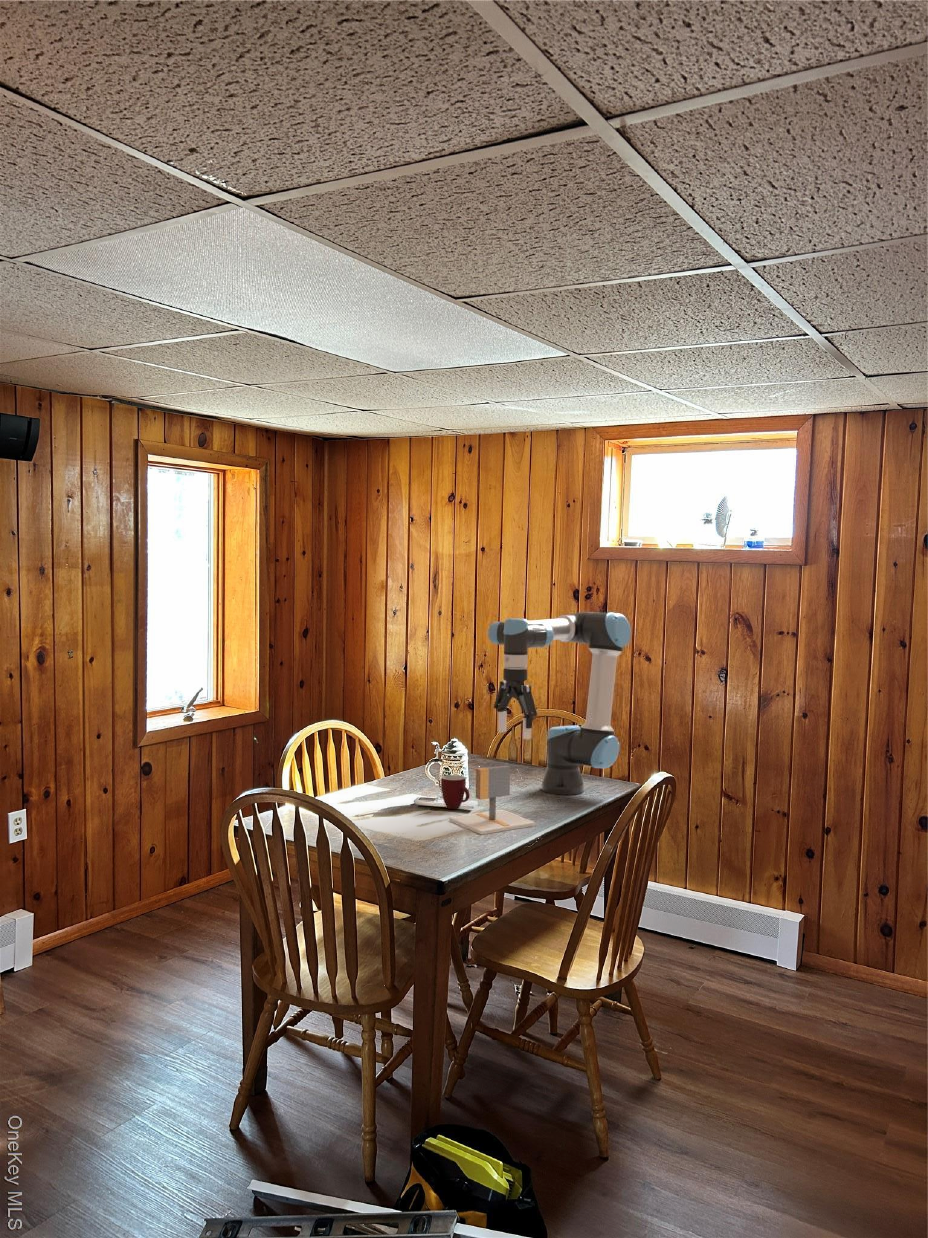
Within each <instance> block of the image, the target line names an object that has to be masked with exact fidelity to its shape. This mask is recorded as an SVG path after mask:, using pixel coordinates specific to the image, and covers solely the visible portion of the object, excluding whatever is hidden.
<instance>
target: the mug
mask: <svg viewBox="0 0 928 1238" xmlns="http://www.w3.org/2000/svg"><path fill="white" fill-rule="evenodd" d="M440 778H441V779H440V781H441V782H440V783H441V784H440V785H441V793H442V798H443V802H444V804H445V807H446V808H447V809H450V810H457V809H459V808H460V807H461V805H462V803H465V802H468V801H469V799H470V791H469V789H468V788H467V787H466V784H467V782H466V781H467V780H466V779H467V777H466V776H464V775H460V774H450V775H449V774H448V775H442V776H441V777H440ZM464 796H465V798H464Z"/></svg>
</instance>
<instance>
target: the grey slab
mask: <svg viewBox="0 0 928 1238" xmlns="http://www.w3.org/2000/svg"><path fill="white" fill-rule="evenodd" d="M510 772H511V767H510V766H509V765H506V764H505V765H495V766H487V767H486V766H485V767H478V768H477V767H476V768H475V799H477V800H479V801H480V800H488V799H489V798H494V797H496V798H500V797H507V796H508V797H509V796H510V786H511V784H510V783H511V781H510V779H511V778H510V777H511V776H510V775H511V773H510Z"/></svg>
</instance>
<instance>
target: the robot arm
mask: <svg viewBox="0 0 928 1238" xmlns="http://www.w3.org/2000/svg"><path fill="white" fill-rule="evenodd" d="M487 631H488V632H487V636H488V640H489V641H490V643H492V644H494V645H498V646H503V667H504V669H503V674H502V676H503V678H502V679H503V680H501V681H499V688H498V692H497V695H496V697H495V700H494V704H493V709H495V710H496V712H497V720H498V722H497V723H498V724H497V725H498V727H497V731H498V732H497V733H507V731H508V730H507V727H508V724H507V722H508V721H507V720H508V719H507V718H508V715H507V714H508V710H507V707H508V705H509V704H510V703H511V700H512V698H514V699H516V701H517V702H518V705H519V707H520V709H521V710H522V713H523V715H524V716H523V717H522V740H528V739H532V729H533V718H534V717H537V716H538V713H537V708H536V705H535V700H534V698H533V693H532V686H531V684H527V685H526V684H525V681H528V669H527V667H528V663H529V661H528V658H529V657H528V656H529V654H528V653H529V651H528V649H531V648H533V649H534V648H545V647H548V646H550V645H551V644H552V643H553V641H560V642H563V643H567V642H568V643H577V644H583V645H588V650H589V651H590V653H591V654H592V656H591V668H590V677H589V686H588V695H587V705H586V706H587V707H586V713H585V714H586V716H585V722H584V723H583V724H582V725H581V726H580V725H560V726H552V727H550V728H549V729H548V730H547V737H546V770H545V772H544V776H543V778H542V779H543V780H542V781H541V790H542V791H543V792H545V793H549V794H552V795H560V796H561V795H565V796H566V795H567V796H568V795H578V794H581V793H582V794H583V792H584V791H585V785H584V784H585V783H584V781H583V778H582V773H581V770H580V766H585V767H591V768H594V769H608V768H610V767H611V766H613V764H614V763H615V762H616V760H617V758H618V756H619V754H620V753H619V752H620V742H619V739H618V738H617V736H614V734H615V730H614V728H613V726H611V721H612V714H613V713H612V711H613V701H614V691H615V680H616V673H617V671H616V670H617V662H618V657H619V656H620V655H621V654H622V653H623V648H624V647H626V646H628V645H629V643H630V641H631V637H632V629H631V625H630V622H629V620H628V618H627V617H626V616H625V615H624V614H622V613H617V612H602V611H597V612H596V611H582V612H575V613H574V612H573V613H569V614H562V615H559V616H558V617H556V618H544V619H533V620H532V619H531V620H528V619H527V618H517V617H516V618H515V617H514V618H512V617H511V618H506V619H505V620H504V621H494V622H492V623H491V624H490V625H489V627H488V630H487Z"/></svg>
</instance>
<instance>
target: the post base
mask: <svg viewBox="0 0 928 1238" xmlns="http://www.w3.org/2000/svg"><path fill="white" fill-rule="evenodd" d="M488 799H489V800H488V801H489V802H488V803H489V806H488V809H489V810H488V811H483V812H475V813H471V814H469V813H468V814H462V815H456V816H450V817H449V822H452V823H454V824H456V825H457V826H461V827H463V828H465V829H467V830H470V831H472V832H475V833H477V834H479V835H487V834H493V833H499V832H506V831H511V830H517V829H523V828H529V827H530V828H531V827H535V826H537V825H536V821H533V820H531V819H528V818H525V817H523V816H520V815H518V814H515V813H512V812H510V811H507V810H504V809H497V804H496V803H497V797H494V798H488Z"/></svg>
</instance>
